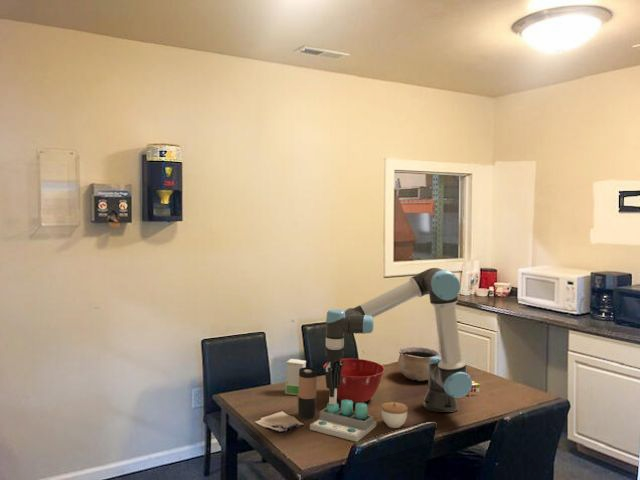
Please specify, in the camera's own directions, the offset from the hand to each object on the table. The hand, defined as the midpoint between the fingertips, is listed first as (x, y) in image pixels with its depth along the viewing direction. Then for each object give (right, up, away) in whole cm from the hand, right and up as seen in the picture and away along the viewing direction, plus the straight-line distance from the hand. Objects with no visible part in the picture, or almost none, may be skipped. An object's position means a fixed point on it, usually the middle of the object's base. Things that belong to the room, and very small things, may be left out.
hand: (332, 403), depth 220 cm
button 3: (0, -5, 0) cm, 5 cm away
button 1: (+11, -3, -6) cm, 13 cm away
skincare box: (-17, -6, +36) cm, 40 cm away
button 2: (+6, -3, -3) cm, 7 cm away
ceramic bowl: (+47, -6, +63) cm, 79 cm away
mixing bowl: (+10, -7, +29) cm, 32 cm away
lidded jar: (+25, -9, 0) cm, 27 cm away
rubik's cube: (+69, -8, +41) cm, 81 cm away
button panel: (+4, -8, -5) cm, 10 cm away
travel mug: (-11, -7, +7) cm, 15 cm away
